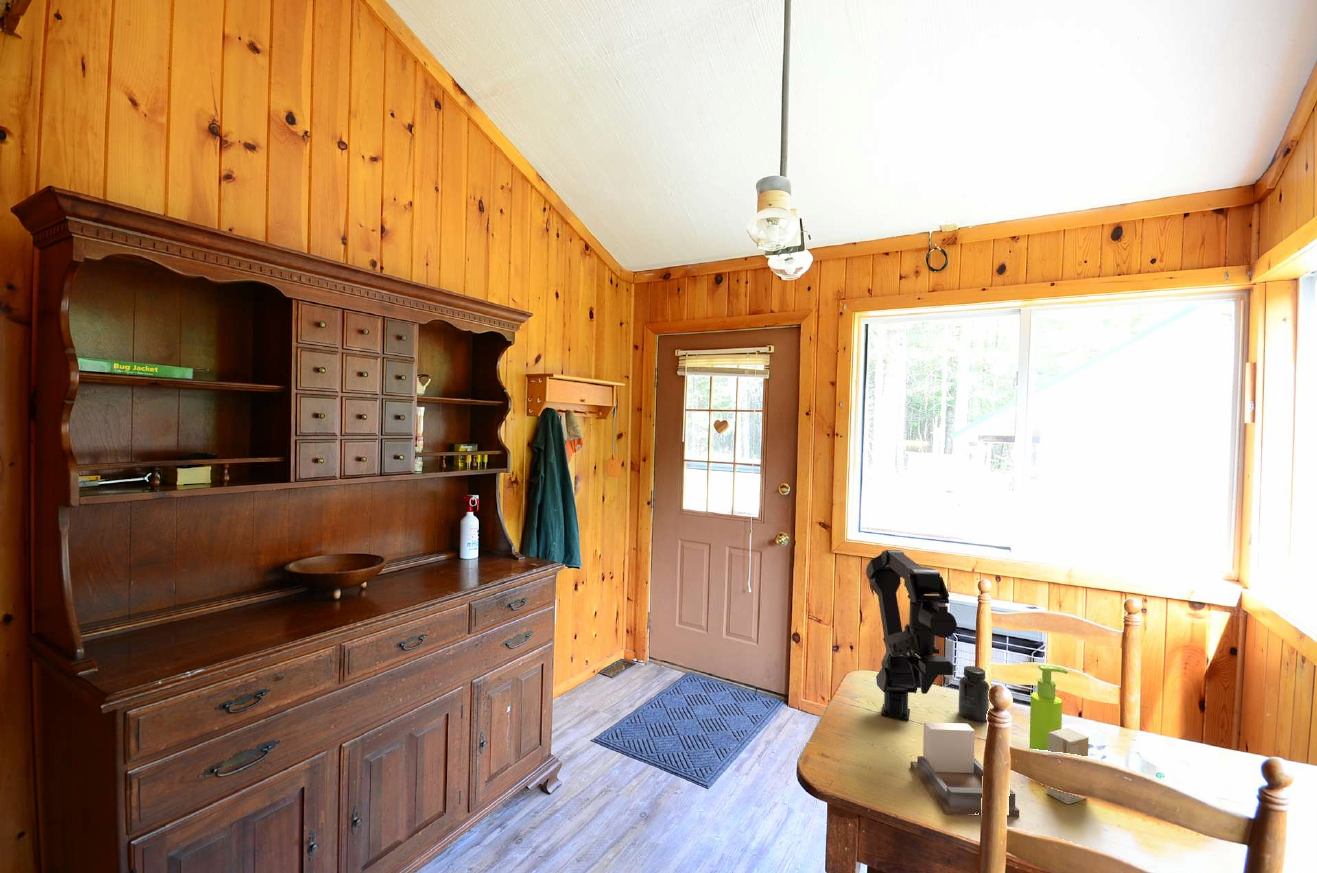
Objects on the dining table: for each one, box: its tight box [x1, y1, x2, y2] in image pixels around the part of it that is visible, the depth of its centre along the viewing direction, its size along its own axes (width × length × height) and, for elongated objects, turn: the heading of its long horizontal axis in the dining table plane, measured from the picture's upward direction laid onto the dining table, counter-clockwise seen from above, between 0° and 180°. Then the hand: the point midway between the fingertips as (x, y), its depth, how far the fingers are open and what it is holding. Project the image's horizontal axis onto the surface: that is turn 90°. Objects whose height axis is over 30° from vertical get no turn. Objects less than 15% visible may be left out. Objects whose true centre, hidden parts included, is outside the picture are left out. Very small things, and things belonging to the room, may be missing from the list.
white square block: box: [922, 721, 976, 773], centre depth 124 cm, size 4×9×9 cm, turn 90°
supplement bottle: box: [958, 665, 990, 723], centre depth 151 cm, size 7×7×12 cm
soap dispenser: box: [1029, 664, 1069, 750], centre depth 132 cm, size 6×7×20 cm
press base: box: [909, 755, 1020, 818], centre depth 118 cm, size 16×14×4 cm
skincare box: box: [1046, 727, 1090, 805], centre depth 118 cm, size 6×4×12 cm
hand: (921, 690), depth 137 cm, fingers open, 3 cm apart
